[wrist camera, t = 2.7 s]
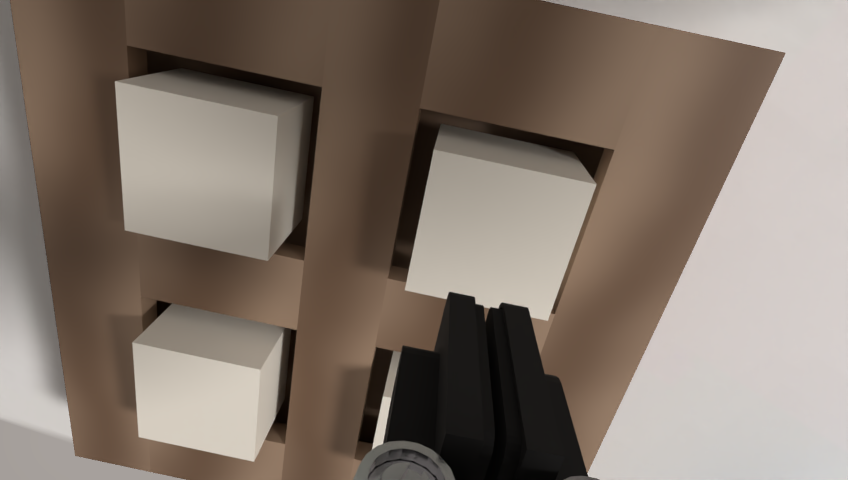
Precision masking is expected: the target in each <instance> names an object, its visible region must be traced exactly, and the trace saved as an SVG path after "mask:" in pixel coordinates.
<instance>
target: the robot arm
mask: <svg viewBox="0 0 848 480" xmlns="http://www.w3.org/2000/svg"><path fill="white" fill-rule="evenodd" d="M353 480H599V479H596V478H592V477H588V474H587V471H586V467H585V464H584V460H583V457H582V453H581V450H580V446H579V443H578V439H577V436H576V432H575V429H574V425H573V422H572V418H571V415H570V411H569V408H568V405H567V401H566V398H565V394H564V391H563V387H562V384H561V381H560V379H559V378H558V377H557V376H554V375H549V374H545V373H544V369H543V365H542V361H541V357H540V353H539V349H538V345H537V341H536V337H535V333H534V329H533V324H532V320H531V316H530V312H529V309H528V308H527V307H523V306H518V305H513V304H508V303H503V302H502V303H501V304H500V305H499V308H494V307H490V309H489V311H488V314H487V318H486V321H485V314H484V306H483V305H479V304H476V303H475V297H473V296H468V295H463V294H459V293H454V292H449V293H448V296H447V300H446V304H445V308H444V312H443V316H442V320H441V324H440V328H439V332H438V336H437V340H436V344H435V348H434V351H429V350H424V349H419V348H414V347H409V346H404V345H403V346H402V350H401V354H400V359H399V364H398V368H397V373H396V378H395V382H394V387H393V392H392V397H391V402H390V408H389V413H388V418H387V424H386V430H385V435H384V441H383V444H381V445H378V446H376V447H375V448H374V449H372V450H371V451H370V452H368V453H367V454H366V455H365V457H364V458H363V460H362V461H361V463H360V464H359V467H358V469H357V472H356V474H355V476H354V479H353Z"/></svg>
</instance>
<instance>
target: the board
mask: <svg viewBox="0 0 848 480" xmlns="http://www.w3.org/2000/svg"><path fill="white" fill-rule="evenodd" d="M10 4H11V11H12V18H13V25H14V32H15V39H16V46H17V53H18V60H19V67H20V74H21V81H22V88H23V95H24V102H25V109H26V116H27V123H28V130H29V137H30V144H31V151H32V158H33V164H34V171H35V178H36V185H37V192H38V199H39V206H40V213H41V220H42V227H43V234H44V241H45V248H46V255H47V262H48V269H49V276H50V283H51V290H52V297H53V304H54V311H55V318H56V325H57V332H58V339H59V346H60V353H61V360H62V367H63V374H64V381H65V388H66V395H67V402H68V409H69V416H70V423H71V429H72V436H73V443H74V450H75V456H79V457H84V458H88V459H93V460H98V461H102V462H107V463H112V464H116V465H121V466H126V467H130V468H135V469H139V470H145V471H149V472H153V473H158V474H163V475H168V476H173V477H177V478H182V479H186V480H353V479H354V476H355V474H356V472H357V469H358V467H359V464H360V463H361V461H362V460H363V458H364V457H365V455H366V454H367V453H368V452H370V451H371V450H372V447H373V442H374V437H375V432H376V427H377V423H378V418H379V413H380V408H381V403H382V398H383V394H384V390H385V385H386V381H387V377H388V372H389V368H390V364H391V359H392V355H393V351H397V352H401V350H402V346H403V345H404V346H409V347H414V348H419V349H424V350H429V351H434V348H435V344H436V340H437V336H438V332H439V328H440V324H441V320H442V316H443V312H444V308H445V304H446V300H447V299H443V298H438V297H434V296H429V295H424V294H420V293H415V292H410V291H406V290H405V287H406V282H407V277H408V272H409V267H410V262H411V258H412V253H413V248H414V243H415V238H416V233H417V228H418V224H419V219H420V214H421V209H422V204H423V199H424V194H425V190H426V185H427V180H428V175H429V170H430V165H431V160H432V156H433V151H434V147H435V143H436V140H437V136H438V133H439V129H440V126H441V124H445V125H449V126H454V127H459V128H463V129H468V130H473V131H477V132H482V133H487V134H491V135H496V136H501V137H505V138H510V139H515V140H519V141H524V142H529V143H533V144H538V145H543V146H547V147H552V148H557V149H561V150H566V151H571V152H574V153H575V155H576V156H577V157H578V159H579V160H580V162H581V163H582V165H583V166H584V167H585V169H586V170H587V172H588V173H589V174H590V176H591V177H592V179H593V180H594V181H595V183H596V184H597V185H596V188H595V191H594V193H593V196H592V199H591V202H590V204H589V207H588V210H587V213H586V216H585V218H584V221H583V224H582V227H581V230H580V232H579V235H578V238H577V241H576V244H575V246H574V249H573V252H572V255H571V257H570V260H569V263H568V266H567V269H566V271H565V274H564V277H563V280H562V283H561V285H560V288H559V291H558V294H557V297H556V299H555V302H554V305H553V308H552V311H551V313H550V316H549V319H548V321H546V320H541V319H537V318H532V317H531V320H532V324H533V329H534V333H535V337H536V341H537V345H538V349H539V353H540V357H541V361H542V365H543V369H544V373H545V374H549V375H554V376H557V377H558V378H559V379H560V381H561V384H562V387H563V391H564V394H565V398H566V401H567V405H568V408H569V411H570V415H571V418H572V422H573V425H574V429H575V432H576V436H577V439H578V443H579V446H580V450H581V453H582V457H583V460H584V464H585V467H586V471H587V473H588V471H589V469H590V466H591V464H592V462H593V460H594V458H595V456H596V454H597V452H598V449H599V447H600V445H601V443H602V441H603V439H604V437H605V435H606V433H607V430H608V428H609V426H610V424H611V422H612V420H613V418H614V416H615V413H616V411H617V409H618V407H619V405H620V403H621V401H622V399H623V396H624V394H625V392H626V390H627V388H628V386H629V384H630V382H631V380H632V377H633V375H634V373H635V371H636V369H637V367H638V365H639V363H640V360H641V358H642V356H643V354H644V352H645V350H646V348H647V346H648V344H649V341H650V339H651V337H652V335H653V333H654V331H655V329H656V327H657V324H658V322H659V320H660V318H661V316H662V314H663V312H664V310H665V308H666V305H667V303H668V301H669V299H670V297H671V295H672V293H673V291H674V288H675V286H676V284H677V282H678V280H679V278H680V276H681V274H682V271H683V269H684V267H685V265H686V263H687V261H688V259H689V257H690V255H691V252H692V250H693V248H694V246H695V244H696V242H697V240H698V238H699V235H700V233H701V231H702V229H703V227H704V225H705V223H706V221H707V219H708V216H709V214H710V212H711V210H712V208H713V206H714V204H715V202H716V199H717V197H718V195H719V193H720V191H721V189H722V187H723V185H724V182H725V180H726V178H727V176H728V174H729V172H730V170H731V168H732V166H733V163H734V161H735V159H736V157H737V155H738V153H739V151H740V149H741V146H742V144H743V142H744V140H745V138H746V136H747V134H748V132H749V130H750V127H751V125H752V123H753V121H754V119H755V117H756V115H757V113H758V110H759V108H760V106H761V104H762V102H763V100H764V98H765V96H766V93H767V91H768V89H769V87H770V85H771V83H772V81H773V79H774V77H775V74H776V72H777V70H778V68H779V66H780V64H781V62H782V60H783V57H784V55H785V53H784V52H779V51H774V50H770V49H765V48H760V47H756V46H751V45H746V44H742V43H737V42H732V41H728V40H723V39H718V38H714V37H709V36H704V35H700V34H695V33H690V32H686V31H681V30H676V29H672V28H667V27H662V26H658V25H653V24H648V23H644V22H639V21H634V20H630V19H625V18H620V17H616V16H611V15H606V14H602V13H597V12H592V11H588V10H583V9H578V8H574V7H569V6H564V5H560V4H555V3H550V2H546V1H541V0H10ZM179 68H183V69H188V70H192V71H197V72H202V73H206V74H211V75H216V76H220V77H225V78H230V79H234V80H239V81H244V82H249V83H253V84H258V85H263V86H267V87H272V88H277V89H281V90H286V91H291V92H295V93H300V94H305V95H309V96H314V102H313V112H312V123H311V133H310V143H309V153H308V164H307V174H306V184H305V194H304V205H303V215H302V220H301V221H300V222H299V224H298V225H297V226H296V227H295V229H294V230H293V231H292V232H291V233H290V235H289V236H288V237H287V238H286V240H285V241H284V242H283V243H282V244H281V246H280V247H279V248H278V249H277V251H276V252H275V253H274V254H273V255H272V257H271V258H270V259H269V260H268V261H266V260H261V259H256V258H252V257H247V256H242V255H238V254H233V253H228V252H224V251H219V250H214V249H210V248H205V247H200V246H195V245H191V244H186V243H181V242H177V241H172V240H167V239H163V238H158V237H153V236H149V235H144V234H139V233H135V232H130V231H125V226H124V211H123V196H122V181H121V166H120V151H119V136H118V121H117V106H116V91H115V81H118V80H124V79H129V78H134V77H139V76H144V75H149V74H154V73H159V72H164V71H169V70H174V69H179ZM172 303H173V304H177V305H182V306H187V307H191V308H196V309H201V310H205V311H210V312H215V313H219V314H224V315H229V316H233V317H238V318H243V319H247V320H252V321H257V322H261V323H266V324H271V325H275V326H280V327H285V328H289V329H291V338H290V348H289V358H288V369H287V379H286V389H285V399H284V401H283V403H282V405H281V407H280V409H279V411H278V414H277V416H276V418H275V420H274V422H273V424H272V426H271V428H270V430H269V432H268V434H267V436H266V438H265V440H264V442H263V445H262V447H261V449H260V451H259V453H258V455H257V457H256V459H255V461H254V462H253V461H248V460H244V459H239V458H234V457H229V456H225V455H220V454H215V453H211V452H206V451H201V450H197V449H192V448H187V447H183V446H178V445H173V444H169V443H164V442H159V441H155V440H150V439H145V438H141V437H139V435H138V420H137V405H136V390H135V375H134V360H133V345H132V342H133V341H134V340H135V339H136V338H137V337H138V336H139V335H141V334H142V333H143V332H144V331H145V330H146V329H147V328H148V327H149V326H150V325H151V324H152V323H153V322H154V321H155V320H156V319H157V318H158V317H159V316H160V315H161V314H162V313H163V312H164V311H165V310H166V309H167V308H168V307H169V306H170V305H171V304H172ZM489 309H490V308H485V307H484V314H485V321H486V318H487V314H488V311H489Z"/></svg>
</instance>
